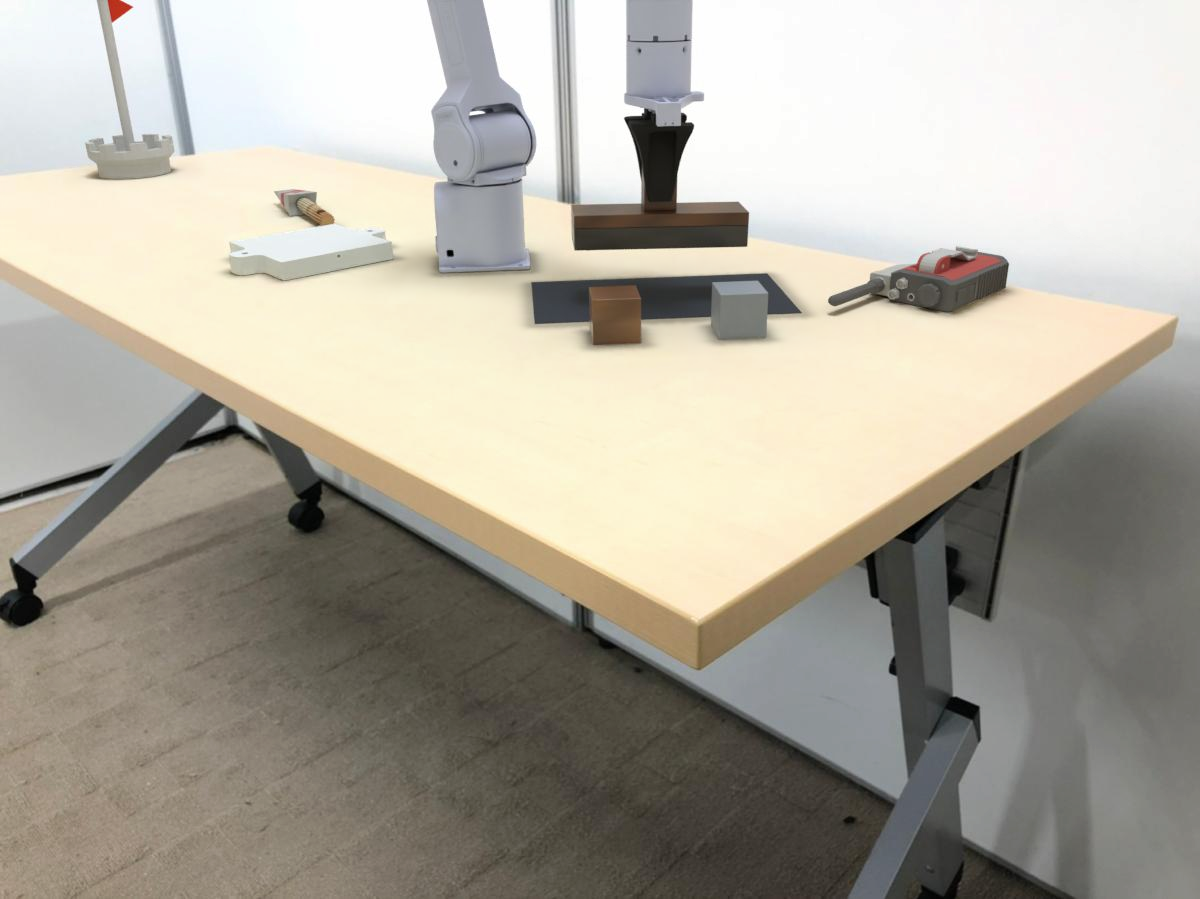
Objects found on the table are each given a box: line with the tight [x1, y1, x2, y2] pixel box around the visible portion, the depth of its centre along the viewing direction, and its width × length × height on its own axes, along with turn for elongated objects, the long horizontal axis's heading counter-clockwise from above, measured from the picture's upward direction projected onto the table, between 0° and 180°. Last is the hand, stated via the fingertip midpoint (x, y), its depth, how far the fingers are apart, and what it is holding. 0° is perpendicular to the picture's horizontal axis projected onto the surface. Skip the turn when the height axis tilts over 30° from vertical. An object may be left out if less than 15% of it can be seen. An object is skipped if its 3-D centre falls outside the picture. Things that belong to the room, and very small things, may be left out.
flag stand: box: [84, 0, 175, 180], centre depth 167 cm, size 13×13×30 cm
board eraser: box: [570, 169, 750, 252], centre depth 98 cm, size 16×5×7 cm, turn 94°
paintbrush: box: [273, 188, 335, 226], centre depth 140 cm, size 4×3×20 cm
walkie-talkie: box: [827, 245, 1010, 313], centre depth 98 cm, size 9×4×20 cm
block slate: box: [710, 281, 768, 341], centre depth 90 cm, size 4×4×4 cm
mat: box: [530, 272, 803, 325], centre depth 101 cm, size 24×14×1 cm, turn 95°
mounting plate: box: [228, 223, 394, 282], centre depth 117 cm, size 18×13×2 cm
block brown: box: [589, 285, 642, 346], centre depth 89 cm, size 4×4×4 cm
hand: (657, 197), depth 98 cm, fingers closed on board eraser, 2 cm apart
